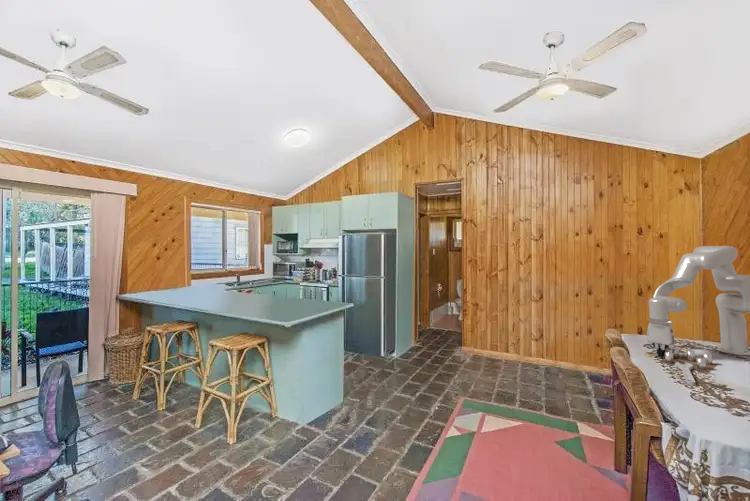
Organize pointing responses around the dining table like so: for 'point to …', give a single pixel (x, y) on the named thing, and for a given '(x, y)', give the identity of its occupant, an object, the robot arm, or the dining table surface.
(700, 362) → the spacers
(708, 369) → the board
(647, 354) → the nut
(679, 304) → the robot arm
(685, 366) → the adjustable wrench
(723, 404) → the dining table surface
